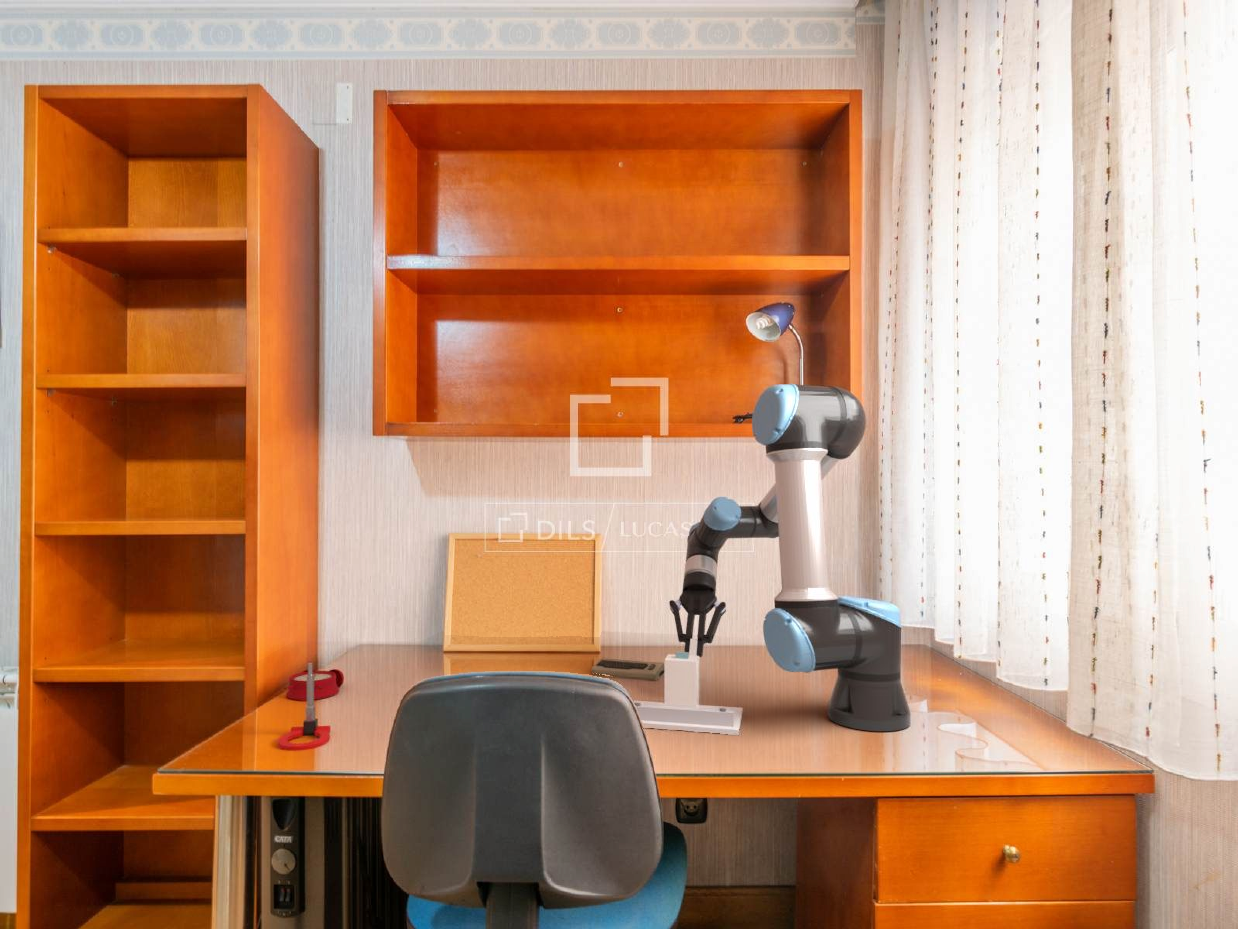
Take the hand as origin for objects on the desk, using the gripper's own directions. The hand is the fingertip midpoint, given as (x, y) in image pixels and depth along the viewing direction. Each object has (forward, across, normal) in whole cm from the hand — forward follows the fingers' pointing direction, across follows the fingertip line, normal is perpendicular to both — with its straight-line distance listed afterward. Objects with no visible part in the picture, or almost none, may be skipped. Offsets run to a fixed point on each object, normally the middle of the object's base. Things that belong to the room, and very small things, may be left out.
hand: (692, 668), depth 164 cm
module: (+15, 0, +7) cm, 16 cm away
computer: (-8, +17, -17) cm, 26 cm away
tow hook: (+34, +63, +24) cm, 76 cm away
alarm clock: (+13, +80, +4) cm, 81 cm away
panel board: (+15, 0, +5) cm, 16 cm away
